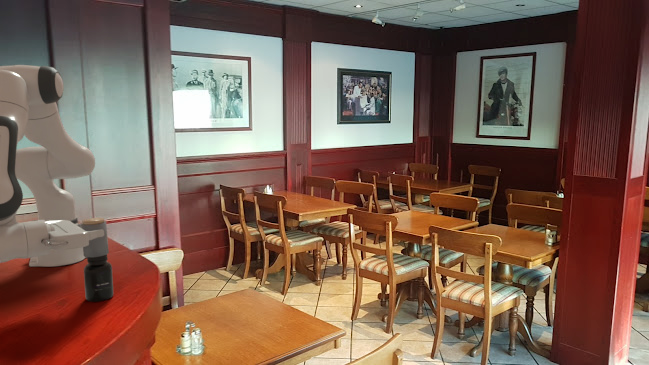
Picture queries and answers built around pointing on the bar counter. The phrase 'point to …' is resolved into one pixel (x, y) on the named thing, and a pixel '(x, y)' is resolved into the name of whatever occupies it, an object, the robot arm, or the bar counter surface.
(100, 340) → the bar counter surface
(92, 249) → the sugar jar
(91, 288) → the supplement bottle
